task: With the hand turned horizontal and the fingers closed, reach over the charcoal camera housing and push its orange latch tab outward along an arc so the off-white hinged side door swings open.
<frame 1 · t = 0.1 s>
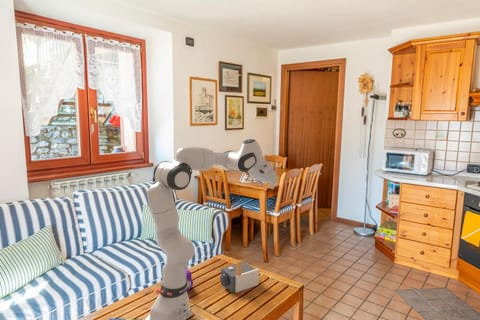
hand: (266, 186, 181), 54 cm above the table, tool tilted 30°, fingers open, 8 cm apart
toy camera: (182, 288, 176), on the table
side door: (247, 273, 176), point 9 cm above the table, hinge at 0.0°
camera housing: (238, 284, 182), on the table
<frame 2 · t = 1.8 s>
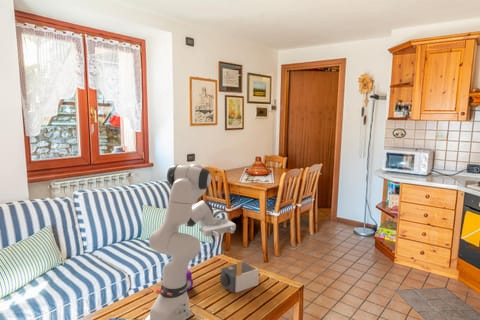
hand: (226, 233, 180), 28 cm above the table, tool horizontal, fingers open, 8 cm apart
nothing on the table moved.
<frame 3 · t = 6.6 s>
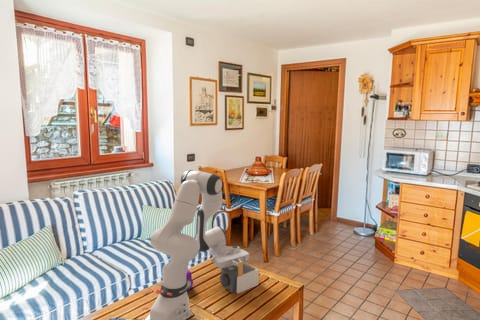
hand: (240, 264, 171), 15 cm above the table, tool horizontal, fingers closed, pressing on side door
side door: (248, 273, 176), point 9 cm above the table, hinge at 4.6°, touching gripper
everything else where it was.
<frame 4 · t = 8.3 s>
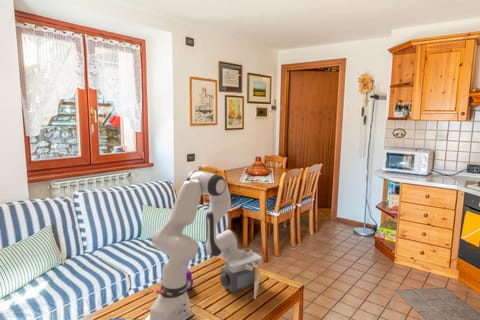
hand: (254, 269, 167), 15 cm above the table, tool horizontal, fingers closed
side door: (256, 275, 174), point 9 cm above the table, hinge at 45.0°, touching gripper
everything else where it was.
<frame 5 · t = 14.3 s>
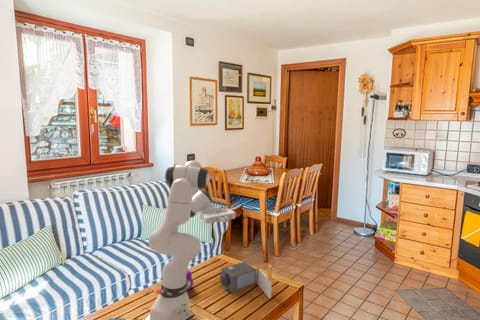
hand: (226, 220, 184), 34 cm above the table, tool horizontal, fingers closed
side door: (263, 275, 174), point 9 cm above the table, hinge at 76.0°
everything else where it was.
at the end: side door at +76° (first picture: +0°) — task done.
